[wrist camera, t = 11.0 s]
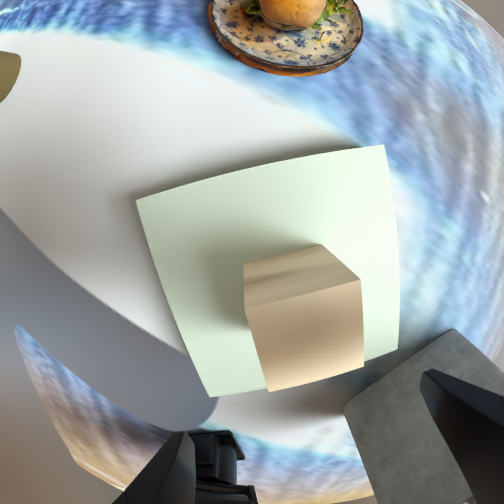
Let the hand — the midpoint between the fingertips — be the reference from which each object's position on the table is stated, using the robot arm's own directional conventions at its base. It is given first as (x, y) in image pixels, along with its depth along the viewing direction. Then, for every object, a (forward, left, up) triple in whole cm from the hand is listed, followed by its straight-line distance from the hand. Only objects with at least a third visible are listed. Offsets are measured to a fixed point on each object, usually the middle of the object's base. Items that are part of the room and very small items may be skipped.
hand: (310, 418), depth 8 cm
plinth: (+1, -1, -13) cm, 13 cm away
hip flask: (-14, -12, -13) cm, 23 cm away
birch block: (+1, -1, -10) cm, 10 cm away
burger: (+21, -6, -13) cm, 25 cm away
